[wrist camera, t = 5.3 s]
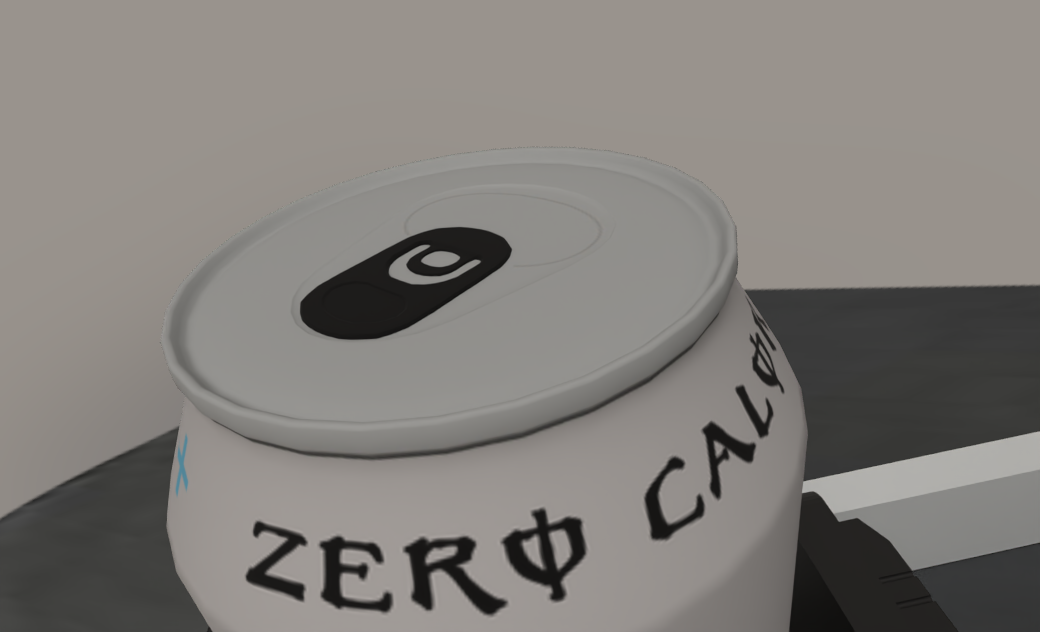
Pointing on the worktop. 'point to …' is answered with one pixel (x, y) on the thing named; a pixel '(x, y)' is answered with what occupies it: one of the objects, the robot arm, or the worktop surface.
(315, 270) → the energy drink can
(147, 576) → the worktop surface
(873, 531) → the robot arm
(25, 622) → the worktop surface
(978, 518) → the white rectangular bar
